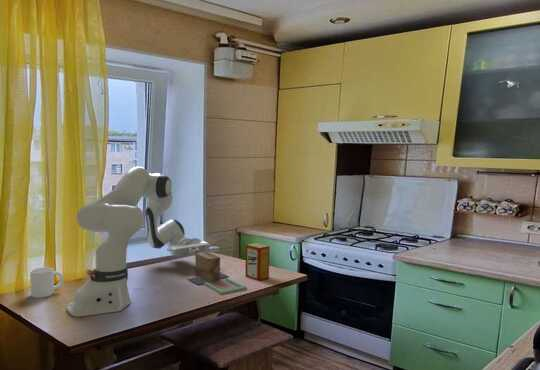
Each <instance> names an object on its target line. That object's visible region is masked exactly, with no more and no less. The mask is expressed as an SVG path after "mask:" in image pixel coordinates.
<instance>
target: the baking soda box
mask: <svg viewBox="0 0 540 370" xmlns="http://www.w3.org/2000/svg"><path fill="white" fill-rule="evenodd" d="M244 274H245V278H247V279H248V278H249V279H251V280H254V281H256V282H260V281H265V280H269V279H270V246H269V245H267V244H262V243H258V242H254V243H249V244H245V273H244Z"/></svg>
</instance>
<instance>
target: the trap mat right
mask: <svg viewBox="0 0 540 370" xmlns="http://www.w3.org/2000/svg"><path fill="white" fill-rule="evenodd" d="M225 278H229V276H228V275H227V274H224V273H223V272H220V280H221V279H225Z"/></svg>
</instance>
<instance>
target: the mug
mask: <svg viewBox="0 0 540 370" xmlns="http://www.w3.org/2000/svg"><path fill="white" fill-rule="evenodd" d="M29 276H30V296H31V297H32V298H35V299H43V298H47V297H50V296H53V294H54V291H55V290H57V289H59V288H60V287H62V285H63V283H64V276H63V274H62V272H59V271H55V270H54V268H53V267H47V266H46V267H38V268H34V269H31V270H30V273H29ZM54 276H57V277H59V278H58V279H59V283H57V284H56V285H54V284H55V282H54V281H55V279H54Z"/></svg>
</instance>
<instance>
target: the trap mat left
mask: <svg viewBox="0 0 540 370" xmlns="http://www.w3.org/2000/svg"><path fill="white" fill-rule="evenodd" d="M187 280H188V281H189V282H191V283H192V284H194V285H196V286H200V285H201V286H202V285H204V282H206V281H204V280H202V279H201V278H199V277H197V276H195V277H191V278H187Z"/></svg>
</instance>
